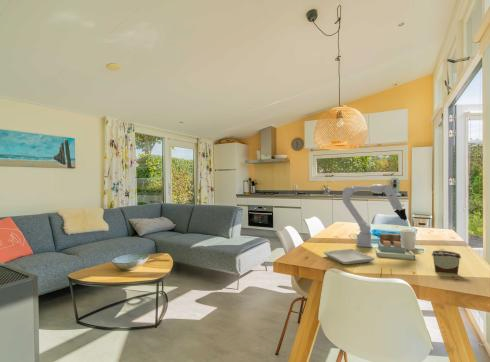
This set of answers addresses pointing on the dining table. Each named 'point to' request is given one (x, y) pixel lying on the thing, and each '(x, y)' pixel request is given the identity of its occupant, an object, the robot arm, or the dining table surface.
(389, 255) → the tray
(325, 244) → the dining table surface
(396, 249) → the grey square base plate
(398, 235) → the long brown wooden post
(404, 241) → the mug
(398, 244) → the tile
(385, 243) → the tile
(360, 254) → the salad plate
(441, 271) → the food container
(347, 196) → the robot arm
